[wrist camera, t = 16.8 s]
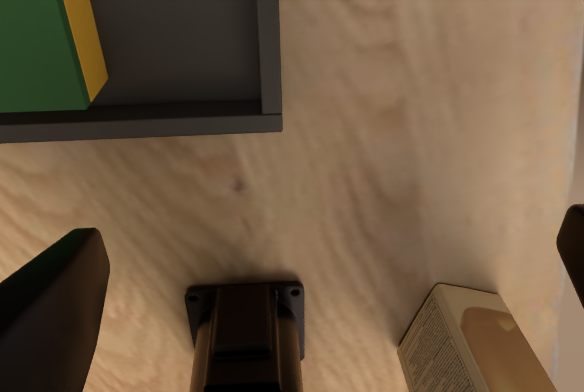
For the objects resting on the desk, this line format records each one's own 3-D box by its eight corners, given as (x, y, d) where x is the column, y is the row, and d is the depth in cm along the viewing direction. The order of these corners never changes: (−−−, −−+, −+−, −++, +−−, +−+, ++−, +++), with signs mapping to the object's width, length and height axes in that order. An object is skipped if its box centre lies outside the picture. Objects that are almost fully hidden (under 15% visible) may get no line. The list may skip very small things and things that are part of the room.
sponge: (66, -100, 15) (30, -94, 13) (109, 78, 19) (86, 109, 16) (-61, -98, 15) (-122, -92, 13) (5, 82, 19) (-33, 114, 16)
